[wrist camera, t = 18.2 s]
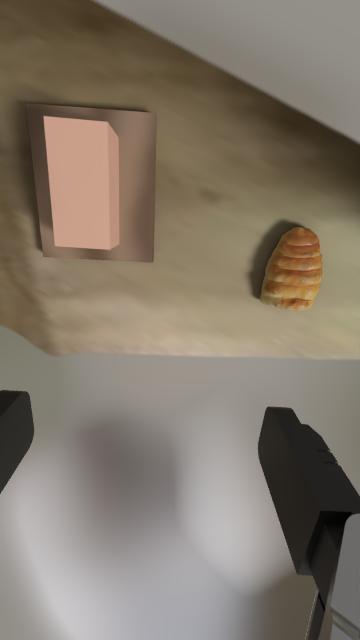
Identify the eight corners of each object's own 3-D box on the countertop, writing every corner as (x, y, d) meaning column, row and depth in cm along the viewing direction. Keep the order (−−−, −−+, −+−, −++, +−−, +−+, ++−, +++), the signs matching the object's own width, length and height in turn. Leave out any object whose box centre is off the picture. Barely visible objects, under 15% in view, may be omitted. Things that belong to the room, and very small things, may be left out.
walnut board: (156, 118, 28) (155, 113, 26) (153, 260, 33) (152, 262, 31) (32, 108, 27) (25, 102, 26) (48, 254, 32) (43, 256, 31)
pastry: (268, 224, 32) (280, 226, 28) (325, 227, 32) (345, 230, 29) (255, 303, 35) (265, 313, 32) (307, 305, 36) (323, 315, 32)
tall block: (119, 244, 31) (118, 137, 27) (110, 249, 26) (107, 121, 22) (72, 240, 30) (65, 132, 27) (54, 246, 26) (43, 116, 22)
